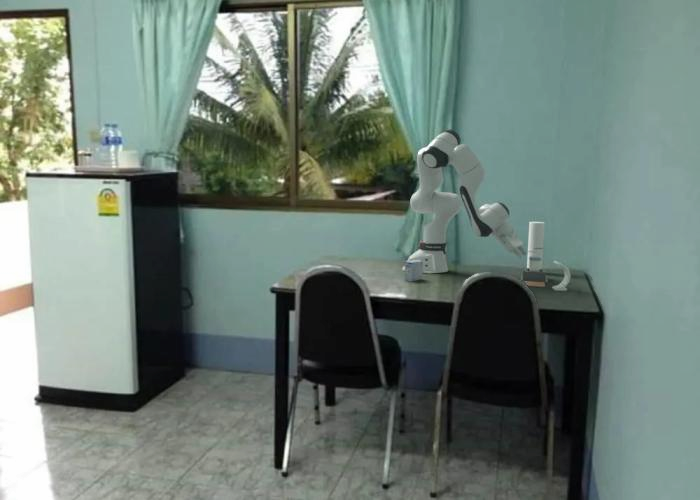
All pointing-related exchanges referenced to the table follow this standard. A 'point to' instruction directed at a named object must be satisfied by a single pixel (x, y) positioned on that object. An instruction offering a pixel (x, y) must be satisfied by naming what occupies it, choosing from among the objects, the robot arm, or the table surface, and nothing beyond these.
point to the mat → (535, 284)
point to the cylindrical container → (535, 241)
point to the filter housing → (534, 275)
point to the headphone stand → (565, 281)
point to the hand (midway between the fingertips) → (523, 255)
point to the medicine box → (413, 270)
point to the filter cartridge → (534, 264)
